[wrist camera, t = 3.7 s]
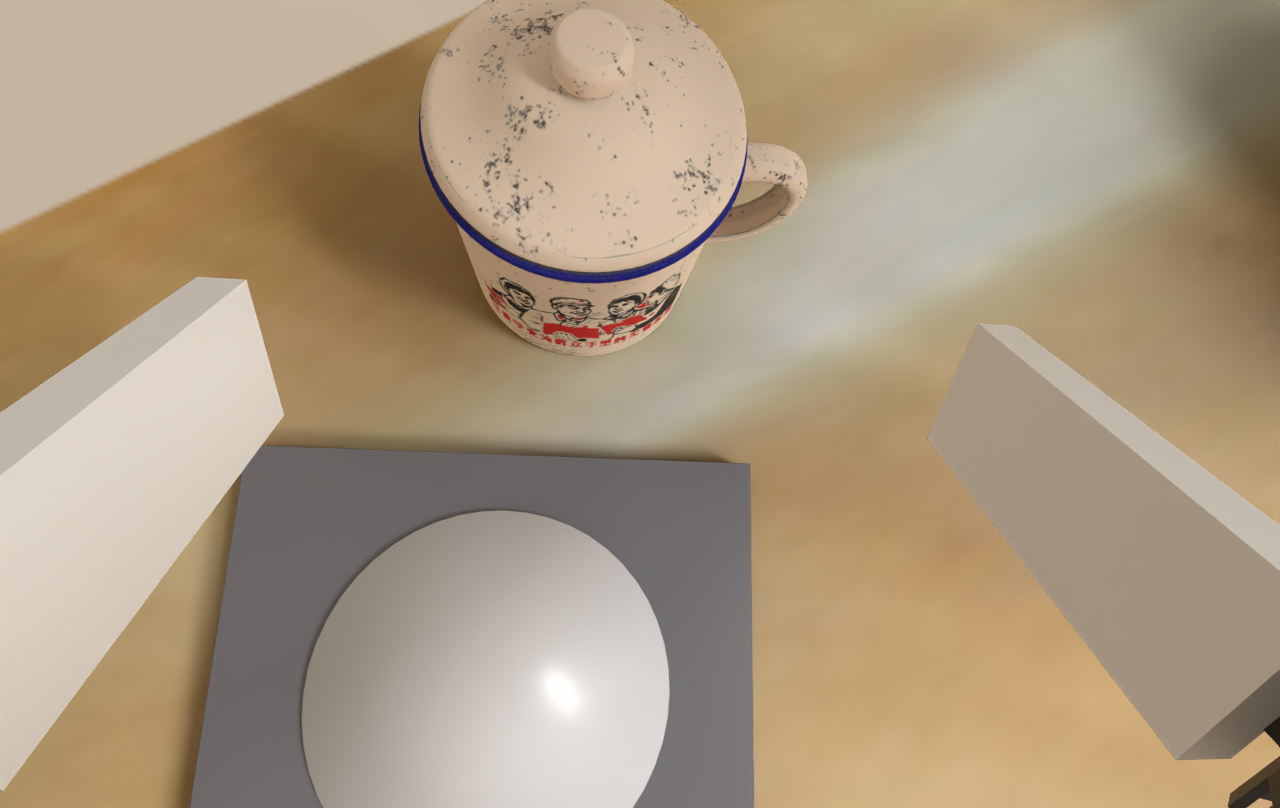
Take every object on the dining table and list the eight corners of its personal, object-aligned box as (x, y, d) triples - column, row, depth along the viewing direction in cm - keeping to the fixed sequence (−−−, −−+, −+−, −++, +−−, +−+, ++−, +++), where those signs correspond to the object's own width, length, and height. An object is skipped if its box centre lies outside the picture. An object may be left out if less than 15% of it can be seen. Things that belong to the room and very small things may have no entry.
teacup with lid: (471, 368, 24) (378, 223, 12) (468, 159, 25) (385, -139, 14) (767, 358, 25) (930, 221, 14) (745, 161, 27) (875, -107, 15)
